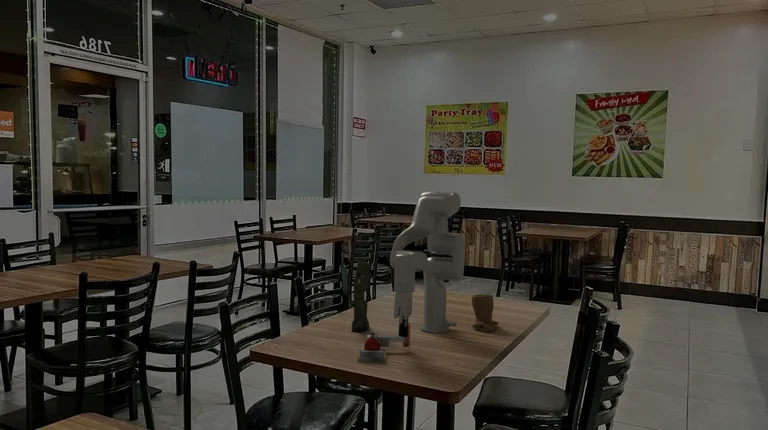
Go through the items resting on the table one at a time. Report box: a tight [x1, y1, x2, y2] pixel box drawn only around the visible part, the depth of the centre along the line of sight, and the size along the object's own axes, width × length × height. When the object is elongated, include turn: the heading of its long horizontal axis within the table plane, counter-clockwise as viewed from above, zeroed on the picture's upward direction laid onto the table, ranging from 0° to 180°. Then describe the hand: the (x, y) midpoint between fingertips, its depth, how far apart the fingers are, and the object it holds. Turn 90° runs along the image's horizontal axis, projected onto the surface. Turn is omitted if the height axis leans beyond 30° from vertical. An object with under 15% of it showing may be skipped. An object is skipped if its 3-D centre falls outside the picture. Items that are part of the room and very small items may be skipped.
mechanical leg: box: [351, 261, 372, 334], centre depth 246 cm, size 14×7×30 cm, turn 169°
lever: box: [365, 323, 411, 348], centre depth 215 cm, size 16×4×8 cm, turn 90°
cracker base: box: [357, 331, 387, 363], centre depth 211 cm, size 10×17×7 cm, turn 1°
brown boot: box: [471, 293, 499, 332], centre depth 251 cm, size 15×12×15 cm
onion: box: [363, 335, 380, 351], centre depth 208 cm, size 6×6×8 cm
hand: (403, 336), depth 211 cm, fingers closed
